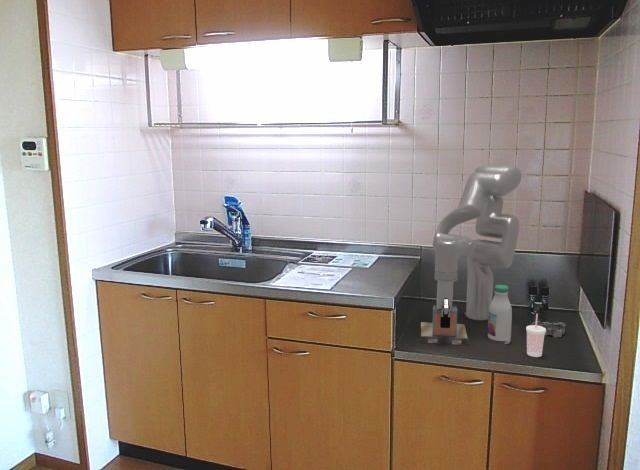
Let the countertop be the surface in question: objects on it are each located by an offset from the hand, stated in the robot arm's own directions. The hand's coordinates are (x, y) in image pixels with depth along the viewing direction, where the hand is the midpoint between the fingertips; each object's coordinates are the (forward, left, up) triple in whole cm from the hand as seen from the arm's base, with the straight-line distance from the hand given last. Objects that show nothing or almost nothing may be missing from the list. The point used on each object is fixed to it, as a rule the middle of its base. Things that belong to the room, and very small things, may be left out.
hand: (444, 322), depth 194 cm
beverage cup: (-29, +6, -7) cm, 31 cm away
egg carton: (-38, -15, -8) cm, 41 cm away
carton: (0, 0, -6) cm, 6 cm away
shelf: (0, -5, -7) cm, 9 cm away
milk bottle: (-19, -4, -7) cm, 21 cm away
